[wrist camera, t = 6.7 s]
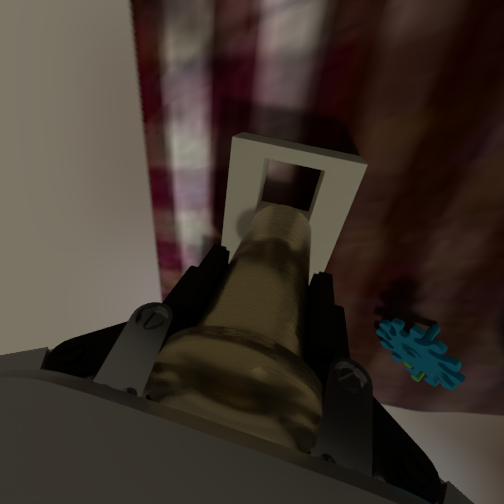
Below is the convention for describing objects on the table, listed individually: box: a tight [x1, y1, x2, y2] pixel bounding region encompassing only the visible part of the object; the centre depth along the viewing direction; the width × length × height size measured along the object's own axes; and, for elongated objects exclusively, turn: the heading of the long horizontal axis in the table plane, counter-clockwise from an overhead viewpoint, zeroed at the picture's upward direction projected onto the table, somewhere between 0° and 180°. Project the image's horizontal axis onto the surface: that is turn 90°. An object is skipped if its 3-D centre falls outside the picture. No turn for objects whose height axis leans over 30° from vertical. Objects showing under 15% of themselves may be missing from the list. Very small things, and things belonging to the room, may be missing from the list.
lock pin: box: [148, 205, 324, 453], centre depth 11 cm, size 5×5×11 cm
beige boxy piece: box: [221, 132, 367, 285], centre depth 25 cm, size 14×12×8 cm
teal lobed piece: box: [376, 318, 466, 390], centre depth 31 cm, size 11×6×10 cm
